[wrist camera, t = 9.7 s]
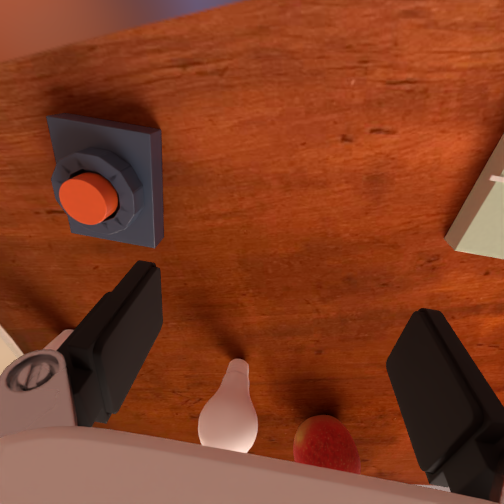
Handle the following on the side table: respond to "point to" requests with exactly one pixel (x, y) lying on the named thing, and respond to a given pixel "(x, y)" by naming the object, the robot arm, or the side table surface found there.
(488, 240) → the panel
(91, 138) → the button block
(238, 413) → the lightbulb
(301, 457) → the apple
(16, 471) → the robot arm
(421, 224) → the side table surface
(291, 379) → the side table surface
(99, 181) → the button
